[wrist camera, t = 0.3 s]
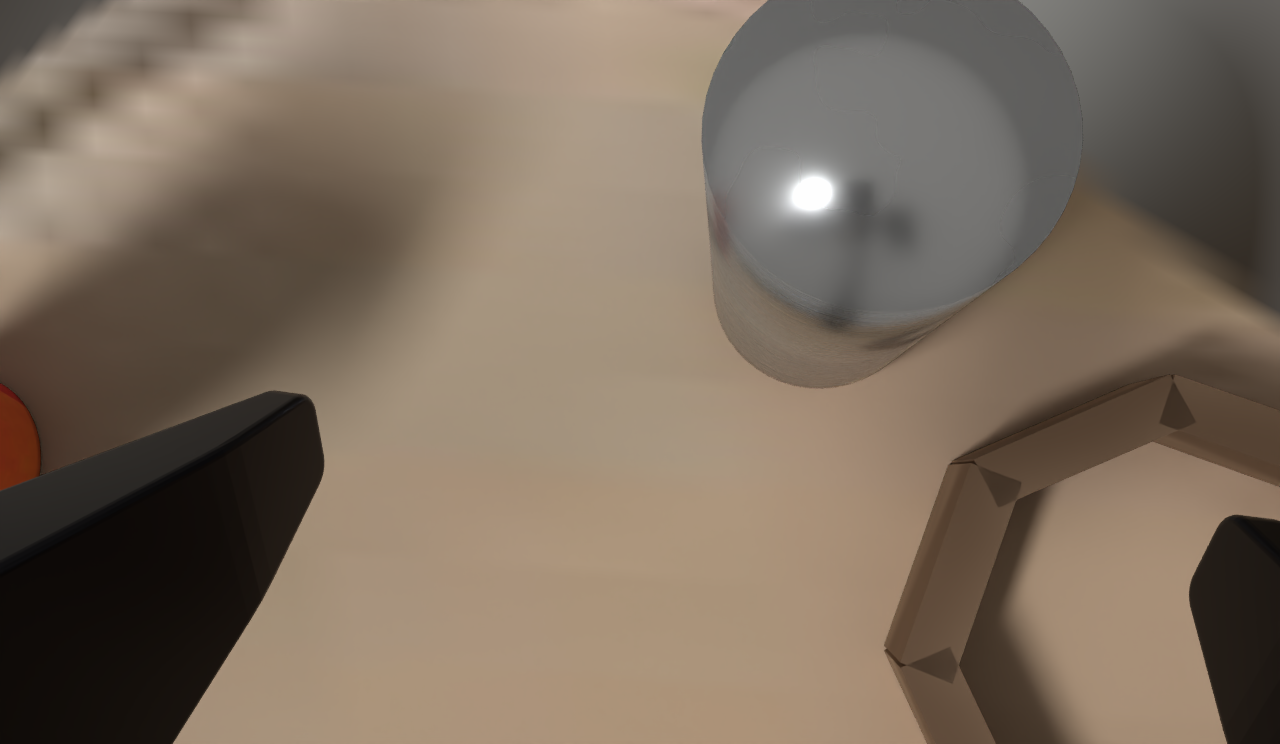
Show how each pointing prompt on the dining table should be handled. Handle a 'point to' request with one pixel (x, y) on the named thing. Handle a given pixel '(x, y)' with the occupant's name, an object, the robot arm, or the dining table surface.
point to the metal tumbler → (878, 173)
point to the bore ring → (1023, 465)
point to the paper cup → (17, 441)
